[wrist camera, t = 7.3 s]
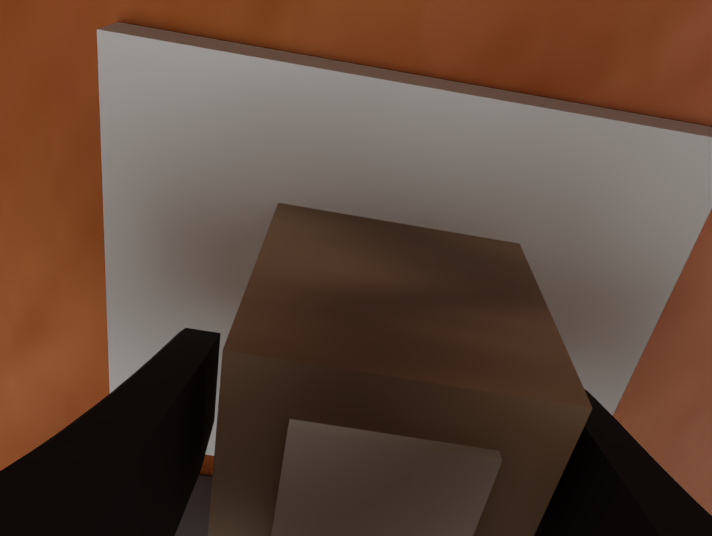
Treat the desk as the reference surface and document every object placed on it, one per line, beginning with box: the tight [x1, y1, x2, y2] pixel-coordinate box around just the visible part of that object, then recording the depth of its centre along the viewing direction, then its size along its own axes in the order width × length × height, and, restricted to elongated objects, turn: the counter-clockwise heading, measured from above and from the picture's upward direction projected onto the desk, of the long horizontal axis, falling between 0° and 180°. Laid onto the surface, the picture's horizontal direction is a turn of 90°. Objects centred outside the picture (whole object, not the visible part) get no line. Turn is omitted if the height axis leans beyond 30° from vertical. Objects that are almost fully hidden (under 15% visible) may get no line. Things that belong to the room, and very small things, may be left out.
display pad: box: [97, 22, 712, 456], centre depth 14 cm, size 12×10×1 cm
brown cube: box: [208, 203, 592, 536], centre depth 12 cm, size 5×5×5 cm
